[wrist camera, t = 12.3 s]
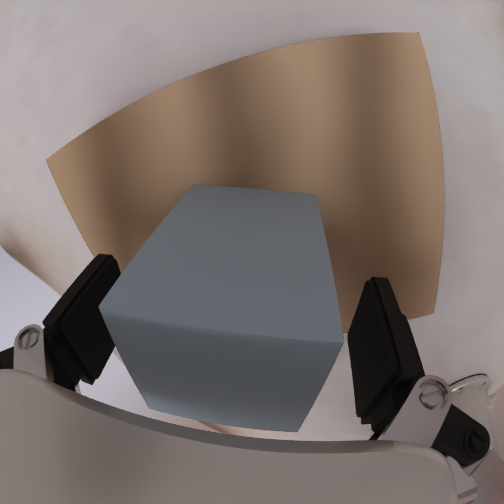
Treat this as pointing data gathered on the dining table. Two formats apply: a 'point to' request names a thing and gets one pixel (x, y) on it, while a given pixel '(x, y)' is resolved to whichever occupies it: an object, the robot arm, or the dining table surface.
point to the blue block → (230, 309)
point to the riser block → (283, 157)
